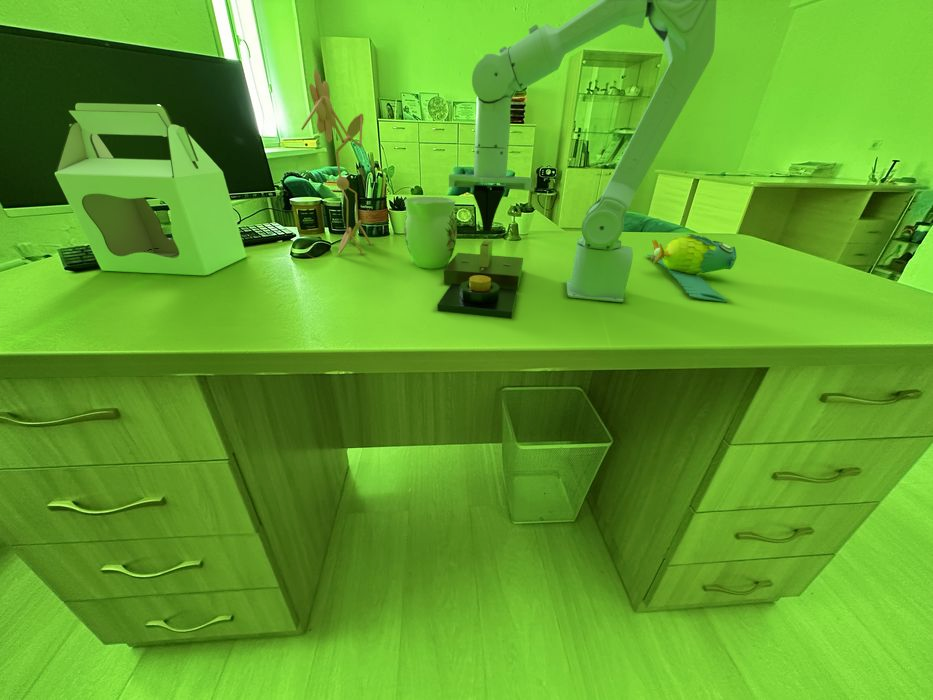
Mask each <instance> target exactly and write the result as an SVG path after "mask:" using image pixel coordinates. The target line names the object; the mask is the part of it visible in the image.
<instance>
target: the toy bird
mask: <svg viewBox="0 0 933 700" xmlns="http://www.w3.org/2000/svg"><path fill="white" fill-rule="evenodd" d="M652 245H653V250H654V251H653V253H652V254H649V253H648V254H646V256H648V257H649V258H650V261H652V260H653V262H652V263H653V264H655V263H658V264H659V265H661V266H662V267H664V269H667V271H668V272H669V274H671V275H672V277H673V278H674V279H676V281H678V283H679V284H680V286H682V287H683V289H684V291H685V293H686V294H688V295H689V296H690V297H691V298H695V299H699V300H705V301H707V302H722V303H728V300H727V299H726V298H725V296H723V295H722V294H720V293H718V292H717V291H716V290H715V289H714V288H713V287H712V286H710V284H709V283H708V282H707V281H705V279H703V278H702V277H701V276H700V274H706V273H710V272H716V271H722V270H732V268H733V267H734V265H735V263H736V261H737V257H738V256H737V249H736V247H735V246H730V245H729V244H726V243H724V242H722V241H717V240H712V239H709V238H707V237H706V236H704V235H695V234H692V233H687V236H682V237H676V238H673V239H672V240H671V241H670V242H669V243H667V244H666V246H665V248H664V247H663V245H662V244H661V243H659V242H658V241H657V240H656V239H654V240H653V239H652Z"/></svg>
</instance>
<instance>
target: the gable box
mask: <svg viewBox="0 0 933 700" xmlns="http://www.w3.org/2000/svg"><path fill="white" fill-rule="evenodd" d="M74 108H75V109H69V110H68V112H69V114H70V115H71V116H72V117H73V118H74V120H75V121H76V122H73V123H69V127H68V130H67V134H66V137H65V140H64V144H63V146H62V150H61V153H60V156H59V160H58V163H57V166H56V169H55V171H54V176H55V179H56V181H57V182H58V184H59V186H60V188H61V190H62V192H63V194H64V196H65V198H66V201H67V203H68V205H69V207H70V208H71V211H72V212H73V214H74V217H75V219H76V221H77V224H78V225H79V226H80V229H81V231H82V234H83V235H84V237H85V239H86V241H87V244H88V245H89V248H90V250H91V251H92V254H93V257H94V258H95V260H96V262H97V264H98V266H99V268H100V270H101V271H104V272H117V273H118V272H119V273H120V272H122V273H141V274H159V275H160V274H161V275H162V274H163V275H184V276H205V277H206V276H209V275H212V274H214V273H216V272H218V271H221V270H222V269H224V268H226V267H229V266H230V265H233V264H234V263H237V262H239V261H241V260H243V259H245V258H247V253H246V249H245V245H244V242H243V239H242V235H241V232H240V229H239V224H238V221H237V218H236V214H235V211H234V207H233V203H232V199H231V197H230V196H231V195H230V193H229V189H228V186H227V182H226V178H225V175H224V171H223V170H222V169H221V168H220V167H219V166H218V165H217V163H216V162H214V160H213V159H212V158H211V157H210V156H209V155H208V154H207V153H206V151H205V150H204V149H203V148H202V147H201V146H200V145H199V144H198V143H197V142H196V140H195V139H194V138H193V137H192V136H191V134H189V131H188V130H187V127H186V126H180V125H178V124H174V123H173V121H172V119H171V116H170V115H169V112H168V110H167V109H166V108H165V106H163V105H161V104H144V103H143V104H140V103H139V104H138V103H95V102H93V103H92V102H77V103H75V106H74ZM99 135H120V136H121V135H122V136H123V135H124V136H158V137H159V136H161V137H164V138H166V137H167V144H168V151H169V159H161V158H160V159H158V158H157V159H155V158H128V157H127V158H126V157H125V158H123V157H114V156H113V155H112V153H111V152H110V151H109V149H108V148H107V146H106V145H105V143H104V142H103V140H102V139H101V138H100V136H99ZM146 198H152V199H157V200H160V201H162V202H163V203H165V204H166V205H167V206H168V208H169V212H170V230H171V231H170V232H171V236H172V238H169V237H168V236H167V235H166V234H165V233H164V231H163V228H162V223H161V220H160V218H159V217H158V214H157V213H156V212H155V209H153V208H152V206H151V205H150V203H149V202H148V201H147V199H146ZM152 248H159V249H152ZM149 249H152V250H149ZM147 250H149V251H147ZM144 251H145V252H144Z"/></svg>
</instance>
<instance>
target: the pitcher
mask: <svg viewBox="0 0 933 700" xmlns="http://www.w3.org/2000/svg"><path fill="white" fill-rule="evenodd" d="M403 201H404V205H405V210H406V216H405V221H404V228H403V229H404V240H405V245H406V247H407V250H408V254H409V256H410V257H411V260H412V261H413V262H414V263H415V264H416V267H419V268H422V269H428V270H429V269H430V270H431V269H433V270H434V269H441V268H445V267H447V265H448V264H449V263H450V261H451V259H452V257H453V254H454V251H455V248H456V243H457V234H458V232H457V231H458V230H457V229H458V228H457V222H456V219H455V216H454V212H455V211H454V210H455V205H456V200H455V199H453V198H450V197H442V196H441V197H440V196H416V197H414V196H413V197H408V198H405V199H404V200H403Z"/></svg>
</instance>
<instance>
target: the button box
mask: <svg viewBox="0 0 933 700" xmlns="http://www.w3.org/2000/svg"><path fill="white" fill-rule="evenodd" d="M517 295H518V291H517V289H506V288H500V286H499V285H497V284H496V283H494V282H491V289H490V290H487V291H475V290H471V289H469V281H466V282H463V283H462V284H451V285H449V287H448V288H447V289H446V291H445V293H444V294H443V295H442V297H441V299H440V300H439V301H438V302H437V312H444V313H445V312H446V313H453V314H464V315H472V316H473V315H474V316H483V317H493V318H502V319H512V318H513V313H514V310H515V304H516V302H517V301H516V299H517Z"/></svg>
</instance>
